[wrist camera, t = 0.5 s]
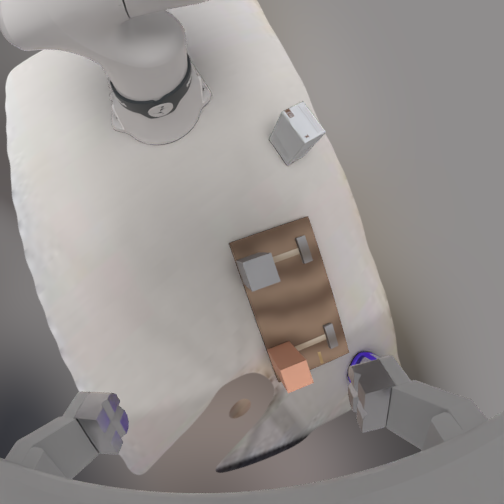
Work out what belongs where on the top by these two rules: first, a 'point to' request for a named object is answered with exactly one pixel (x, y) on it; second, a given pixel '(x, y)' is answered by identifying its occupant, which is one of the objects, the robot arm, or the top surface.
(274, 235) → the wooden board
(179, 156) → the top surface
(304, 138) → the skincare box
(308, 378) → the plug terracotta
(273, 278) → the grey tall block
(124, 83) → the robot arm
